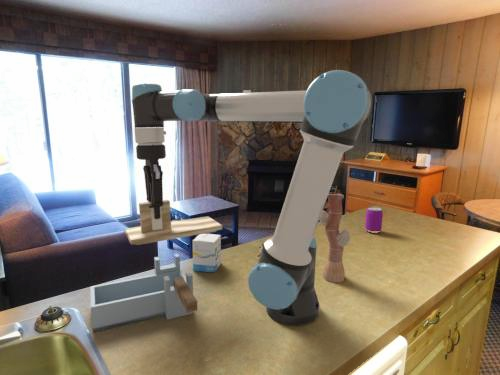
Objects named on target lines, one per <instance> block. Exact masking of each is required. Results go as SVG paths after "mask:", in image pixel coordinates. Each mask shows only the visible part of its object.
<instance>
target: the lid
mask: <svg viewBox="0 0 500 375" xmlns="http://www.w3.org/2000/svg"><path fill="white" fill-rule="evenodd" d="M170 202H171V201H170V200H169V199H165V200H163V206H161V211H162V226H163V229H159V230H152V219H151V208H149V206H150V205H152V204H151V202H148V201H145V202H138V207H139V219H140V220H139V221H140V226H133V227H126V228H124V233H125V235H126V237H127V239H128V242H129V243H130V245H131V246H133V245H135V246H140V245H146V244H152V243H157V242H161V241H162V242H163V241H167V240H168V241H169V240H174V239H181V238H185V237H192V236H198V235H199V234H211V233H215V232H217V231H220V230H223V224H221V223H220V222H218V221H216V220H215V219H213V218H212V217H210V216H200V217H195V218H187V219H186V218H185V219H181V220H174V221H173V220H172V219H171V217H172V216H171V203H170Z"/></svg>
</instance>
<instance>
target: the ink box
mask: <svg viewBox="0 0 500 375" xmlns="http://www.w3.org/2000/svg"><path fill="white" fill-rule="evenodd" d="M221 237H222V235H221V234H214V233H204V234H199V235H196V237H195V238H194V239H192V271H193V272H195V271H196V272H205V273H206V272H207V273H215V272H216V271H217V270H218V269H219V267H220V265H221V264H222V252H221V251H222V248H221V247H222V242H221V240H222V238H221Z"/></svg>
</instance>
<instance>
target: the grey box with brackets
mask: <svg viewBox="0 0 500 375" xmlns="http://www.w3.org/2000/svg"><path fill="white" fill-rule="evenodd" d="M180 258H181V256H180V255H179V253H174V254H173V263H172V264H166V265H160V264H161V261H160V258H159V256H154V257H153V261H154V274H150V275H145V276H140V277H134V278H128V279H124V280H123V279H122V280H118V281H113V282H107V283H102V284H97V285H92V286H90V313H91V314H90V315H91V325H92V333H96V332H100V331H105V330H106V331H107V330H109V329H113V328H117V327H121V326H126V325H130V324H134V323H138V322H143V321H147V320H151V319H155V318H160V317H163V316H165V318H166V320H167V321H168V320H172V319H176V318H180V317H184V316H189V315H193V314H194V312H195V311H192V312H188V313H187V311H186V310H185V308H184V306H183V304H182V302H181V300H180V298H179V296H178V294H177V292H176V290H175V288H174V283H173V278H177V277H183V278H184V280H185V282H186V283H187V285H188V287H189V288H190V290H191V292H192V293H193V294H194V285H193V284H194V278H193V274H192V272H191V271H188V272H185V274H184V272H183V271H182V269H181V262H180V260H181V259H180Z"/></svg>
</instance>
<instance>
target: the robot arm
mask: <svg viewBox="0 0 500 375" xmlns="http://www.w3.org/2000/svg"><path fill="white" fill-rule="evenodd" d="M131 91H132V92H131V103H132V104H131V105H132V110H133V122H134V140H135V143H136V144H137V145H136V146H135V147H136V148H135V150H136V158H137V159H138V160H143V161H145V165H143V168H142V170H143V172H144V173H143V175H144V181H145V182H144V183H145V184H144V185H145V192H146V202H151V204H152V205H150V206H149V208H151V219H152V230H159V229H163V226H162V211H161V206H163V199H164V198H163V197H164V196H163V195H164V194H163V193H164V192H163V191H164V190H163V175H164V172H163V171H162V166H161V165H160V163H159V160H163V159H165V158H166V156H167V154H166V145H165V144H164V143H165V135H167V131H165V129H164V128H165V122H210V123H211V122H301V126H300V129H299V133H300V134H301V136H302V138H303V143H302V147H301V149H300V152H299V156H298V158H297V162H296V165H295V168H294V170H293V174H292V178H291V179H290V180H291V181H290V184H289V185H288V186H289V187H288V189H287V193H286V196H285V199H284V202H283V205H282V208H281V212H280V214H279V217H278V221H277V224H276V226H275V230H274V233H273V236H272V237H270V238H267V239H266V240H265V241H264V242H263V244H264V246H263V245H262V246H263V249H262V252H261V255H260V256H259V258H258V262H257V263H256V264H255V265H254V266H253V267H252V268H251V270H250V273H249V274H248V278H247V280H248V281H247V284H248V288H249V291H250V292H251V294H252V295H253V298H254V299H255V300H256V301H257V302H258V303H260V304H261V305H262V306H264V307H266V313H267V315H268V316H269V317H270V318H272V319H273V320H274V321H277V322H279V323H280V324H283V325H289V326H305V325H308V324H311V323H313V322H314V321H317V319H318V318H319V316H320V302H319V299H318V295H317V292H316V291H317V290H316V288H315V277H316V260H317V259H316V258H317V257H316V256H317V248H318V247H317V238H316V237H315V236H314V234H315V232H316V229H317V226H318V223H319V222H320V219H319V218H320V215H321V213H322V210H324V207H325V204H326V201H327V199H328V194H330V190H331V188H332V186H333V182H334V179H335V176H336V174H337V172H338V169H339V167H340V163H341V161H342V157H343V155H344V153H345V152H347V151H349V150H351V149H352V148H354V147H355V143H356V142H357V138H358V137H359V133H360V131H361V128H362V125H363V123H364V122H366V120H367V118H368V117H369V116H370V113H371V112H372V106H373V97H372V94H371V91H370V89H369V88H368V86H367V84H366V83H365V81H364V80H363V78H361V77H360V76H359V75H358V74H356V73H353V72H350V71H347V70H342V69H335V70H334V69H332V70H329V71H326V72H324V73H322V74H320V75H319V76H317V77H316V78H314V80H313V81H312V82H311V83H310V84H309V85H308V88H307V89H306V90H284V91H283V90H282V91H260V92H258V91H257V92H256V91H255V92H235V93H234V92H233V93H231V92H230V93H229V92H228V93H227V92H226V93H201V92H200V91H199V90H198V89H193V88H191V89H188V88H182V89H174V90H165V91H164V90H162V86H161V85H160V84H158V83H153V82H152V83H149V82H147V83H143V82H141V83H140V82H139V83H136V84H133V86H132V87H131Z"/></svg>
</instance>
